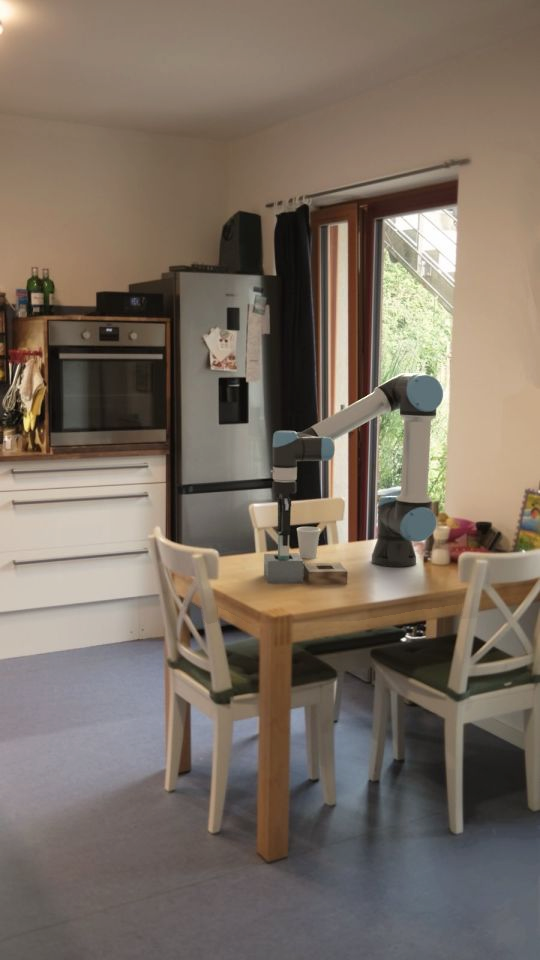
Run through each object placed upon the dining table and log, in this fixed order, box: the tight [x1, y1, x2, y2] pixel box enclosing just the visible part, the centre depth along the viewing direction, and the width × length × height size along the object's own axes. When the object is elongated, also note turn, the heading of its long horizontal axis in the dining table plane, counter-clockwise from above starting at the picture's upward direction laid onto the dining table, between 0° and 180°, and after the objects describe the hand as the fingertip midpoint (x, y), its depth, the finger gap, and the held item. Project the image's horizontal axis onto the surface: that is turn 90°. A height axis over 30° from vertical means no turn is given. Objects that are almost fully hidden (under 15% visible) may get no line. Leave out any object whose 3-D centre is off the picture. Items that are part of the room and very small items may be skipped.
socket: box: [263, 552, 304, 584], centre depth 309 cm, size 11×11×7 cm
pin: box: [277, 531, 289, 559], centre depth 308 cm, size 4×4×14 cm
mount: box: [303, 562, 348, 586], centre depth 308 cm, size 12×12×4 cm
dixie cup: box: [296, 526, 321, 560], centre depth 341 cm, size 8×8×10 cm
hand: (283, 553), depth 308 cm, fingers open, 4 cm apart
